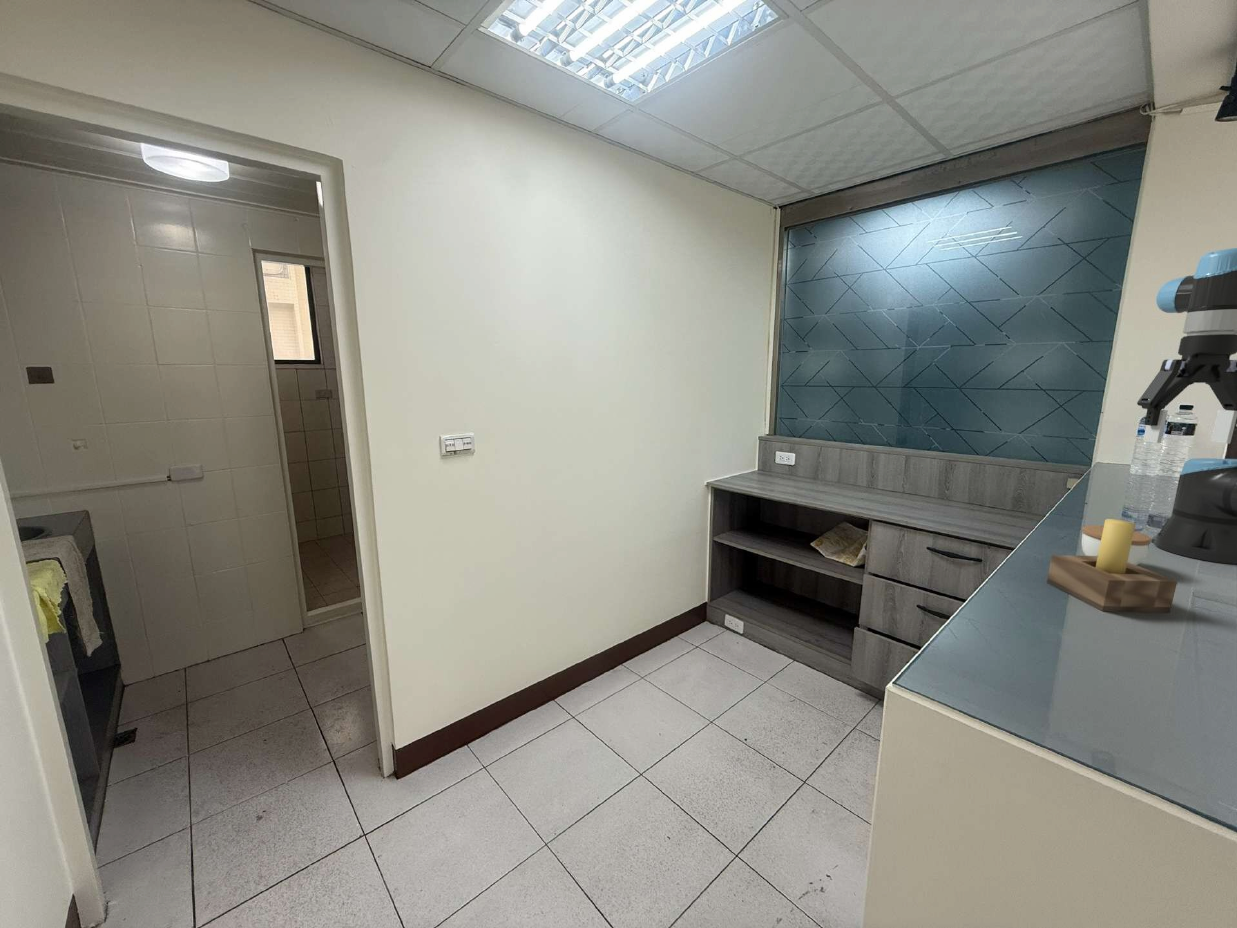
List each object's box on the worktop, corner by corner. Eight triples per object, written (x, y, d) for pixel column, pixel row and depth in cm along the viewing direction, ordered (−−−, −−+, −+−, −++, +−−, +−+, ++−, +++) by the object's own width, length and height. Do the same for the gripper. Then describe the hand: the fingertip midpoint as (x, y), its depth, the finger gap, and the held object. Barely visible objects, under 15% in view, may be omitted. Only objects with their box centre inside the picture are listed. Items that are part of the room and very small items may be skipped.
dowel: (1105, 587, 96) (1120, 519, 93) (1126, 596, 92) (1142, 525, 89) (1085, 587, 96) (1099, 518, 93) (1104, 596, 92) (1119, 525, 89)
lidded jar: (1113, 557, 114) (1121, 519, 113) (1158, 576, 104) (1168, 534, 102) (1064, 555, 115) (1071, 517, 114) (1104, 574, 105) (1112, 532, 103)
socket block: (1106, 583, 100) (1112, 556, 99) (1169, 612, 88) (1177, 581, 87) (1046, 582, 100) (1051, 555, 99) (1102, 611, 88) (1108, 580, 87)
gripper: (1252, 336, 98) (1226, 440, 103) (1126, 335, 99) (1105, 439, 103) (1302, 333, 91) (1272, 445, 95) (1166, 332, 92) (1142, 444, 96)
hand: (1185, 442), depth 99 cm, fingers open, 13 cm apart
